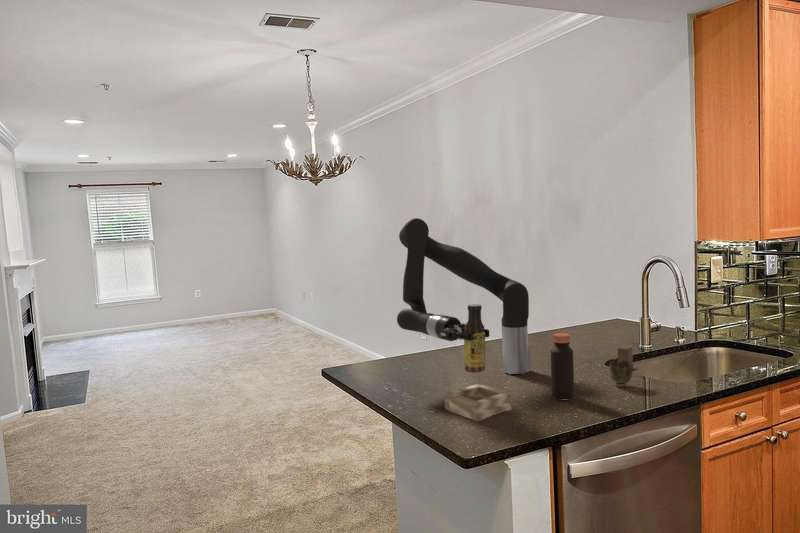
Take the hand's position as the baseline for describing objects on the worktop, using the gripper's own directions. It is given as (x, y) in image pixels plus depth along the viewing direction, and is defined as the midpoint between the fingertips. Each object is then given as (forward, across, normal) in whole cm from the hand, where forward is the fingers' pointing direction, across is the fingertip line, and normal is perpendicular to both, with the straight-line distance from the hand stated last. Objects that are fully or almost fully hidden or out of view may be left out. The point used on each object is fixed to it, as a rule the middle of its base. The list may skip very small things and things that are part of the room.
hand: (480, 335), depth 172 cm
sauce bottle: (-2, 0, +11) cm, 11 cm away
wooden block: (+3, +68, +23) cm, 72 cm away
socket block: (-2, 0, +23) cm, 23 cm away
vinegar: (+8, +27, +23) cm, 37 cm away
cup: (+14, +49, +23) cm, 56 cm away
